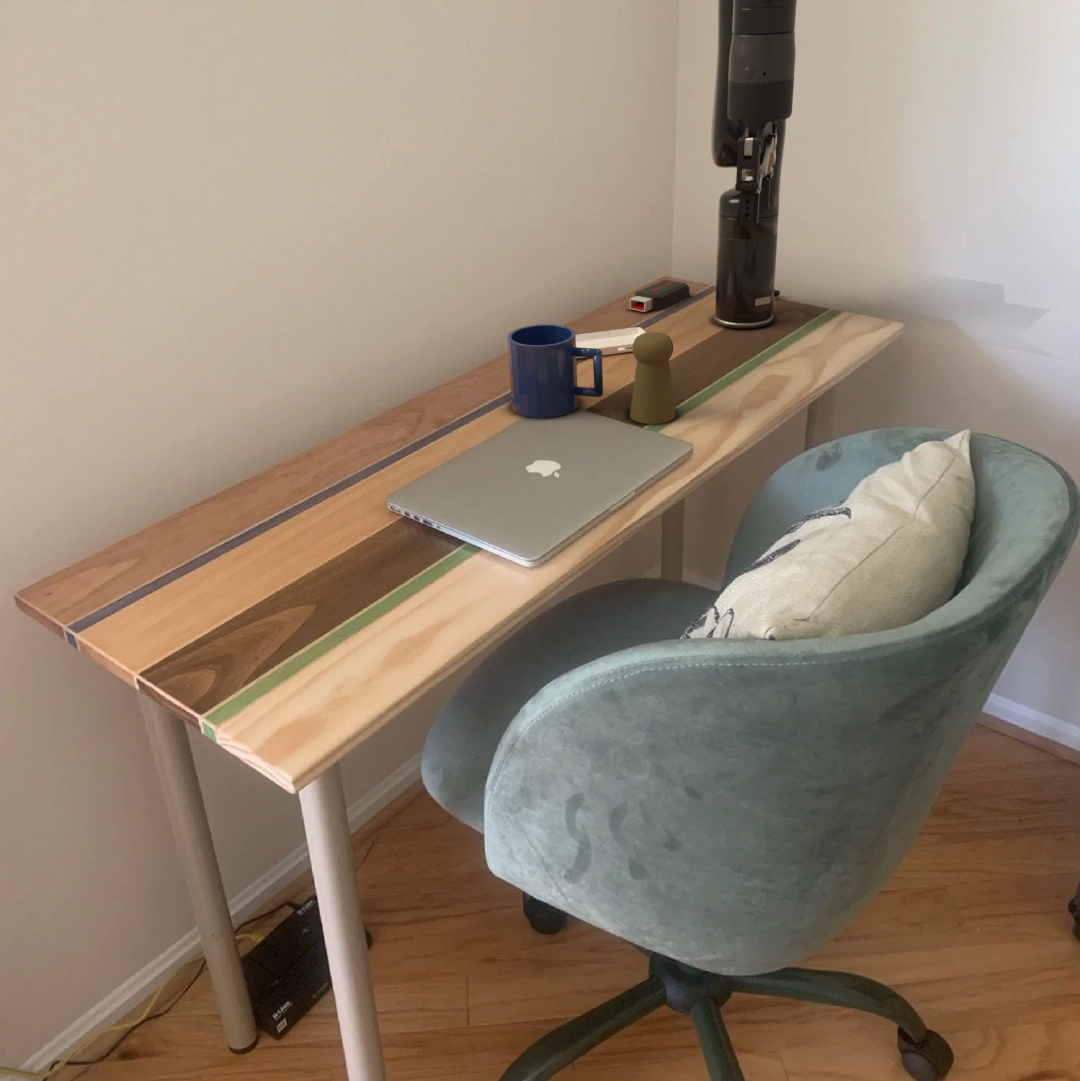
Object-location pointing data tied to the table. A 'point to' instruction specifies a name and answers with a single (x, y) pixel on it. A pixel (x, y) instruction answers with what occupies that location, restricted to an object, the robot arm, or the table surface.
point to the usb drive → (659, 296)
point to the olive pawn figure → (652, 379)
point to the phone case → (609, 340)
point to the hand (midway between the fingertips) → (754, 217)
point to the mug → (548, 370)
